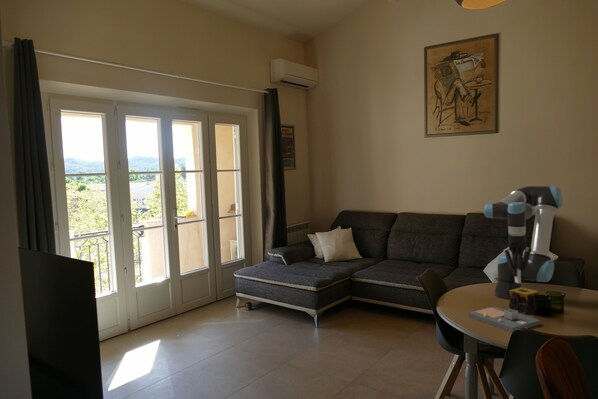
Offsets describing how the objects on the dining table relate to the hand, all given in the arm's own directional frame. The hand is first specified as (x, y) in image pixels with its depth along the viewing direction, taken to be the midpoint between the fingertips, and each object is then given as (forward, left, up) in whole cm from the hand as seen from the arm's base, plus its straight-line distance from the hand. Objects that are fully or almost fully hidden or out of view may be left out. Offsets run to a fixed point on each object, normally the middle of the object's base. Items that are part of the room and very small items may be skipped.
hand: (517, 282), depth 206 cm
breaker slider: (+7, -14, -13) cm, 20 cm away
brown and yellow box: (-2, +7, -16) cm, 18 cm away
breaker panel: (+2, -14, -16) cm, 21 cm away
